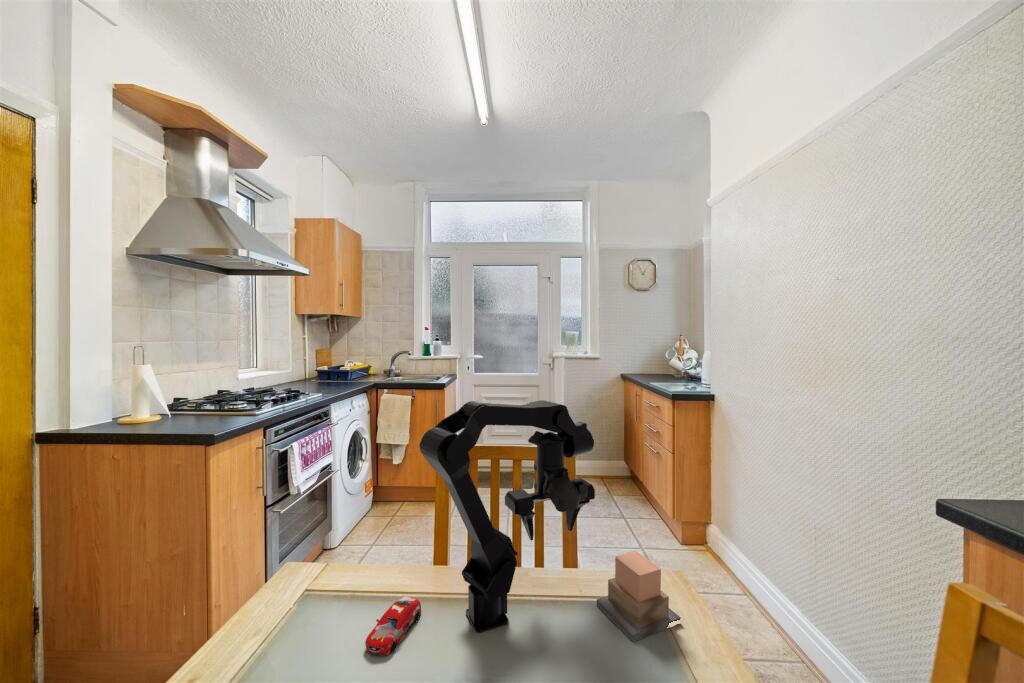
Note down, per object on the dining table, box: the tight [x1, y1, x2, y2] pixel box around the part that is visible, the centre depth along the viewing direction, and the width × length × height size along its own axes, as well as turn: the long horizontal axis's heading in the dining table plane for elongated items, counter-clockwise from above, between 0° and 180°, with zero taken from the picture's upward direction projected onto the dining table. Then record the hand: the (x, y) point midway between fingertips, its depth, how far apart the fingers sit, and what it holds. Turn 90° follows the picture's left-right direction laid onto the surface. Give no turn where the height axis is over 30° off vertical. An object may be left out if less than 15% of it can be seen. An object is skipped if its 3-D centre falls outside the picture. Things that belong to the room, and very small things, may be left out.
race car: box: [365, 596, 422, 657], centre depth 83 cm, size 13×5×4 cm, turn 161°
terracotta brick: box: [614, 550, 662, 602], centre depth 87 cm, size 5×7×5 cm
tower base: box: [596, 577, 682, 642], centre depth 87 cm, size 11×11×5 cm
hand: (550, 534), depth 96 cm, fingers open, 9 cm apart
